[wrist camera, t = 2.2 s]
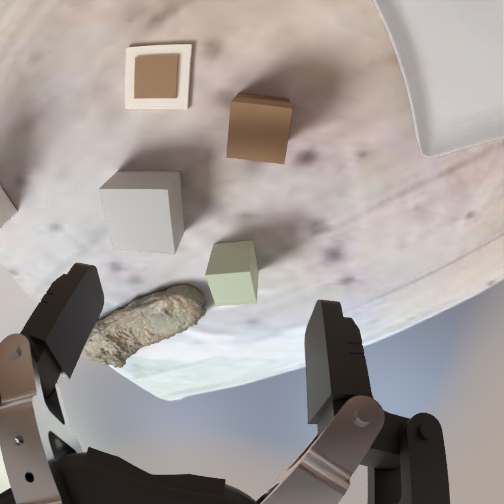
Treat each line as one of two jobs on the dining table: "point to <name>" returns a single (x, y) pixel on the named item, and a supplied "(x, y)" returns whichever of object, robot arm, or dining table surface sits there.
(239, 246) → the sage block
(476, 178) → the dining table surface
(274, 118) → the walnut block
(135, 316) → the long grey stone
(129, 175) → the base block
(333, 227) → the dining table surface
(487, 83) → the salad plate
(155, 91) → the swatch
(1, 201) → the milk carton
